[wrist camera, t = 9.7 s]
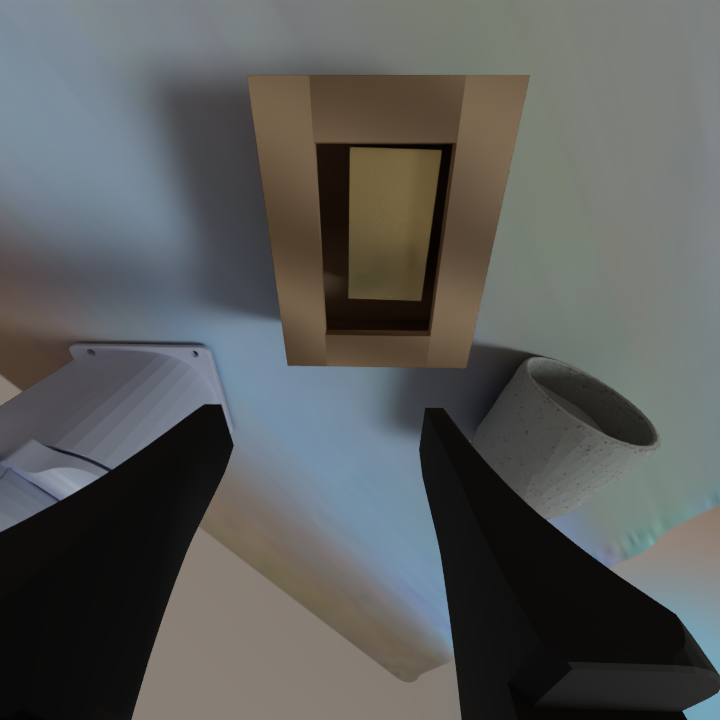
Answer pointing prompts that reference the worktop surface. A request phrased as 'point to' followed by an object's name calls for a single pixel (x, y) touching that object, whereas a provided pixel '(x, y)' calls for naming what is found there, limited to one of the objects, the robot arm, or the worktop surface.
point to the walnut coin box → (331, 207)
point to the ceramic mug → (562, 436)
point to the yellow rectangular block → (390, 221)
